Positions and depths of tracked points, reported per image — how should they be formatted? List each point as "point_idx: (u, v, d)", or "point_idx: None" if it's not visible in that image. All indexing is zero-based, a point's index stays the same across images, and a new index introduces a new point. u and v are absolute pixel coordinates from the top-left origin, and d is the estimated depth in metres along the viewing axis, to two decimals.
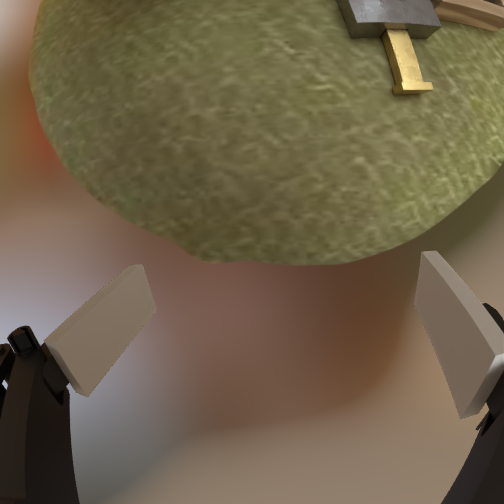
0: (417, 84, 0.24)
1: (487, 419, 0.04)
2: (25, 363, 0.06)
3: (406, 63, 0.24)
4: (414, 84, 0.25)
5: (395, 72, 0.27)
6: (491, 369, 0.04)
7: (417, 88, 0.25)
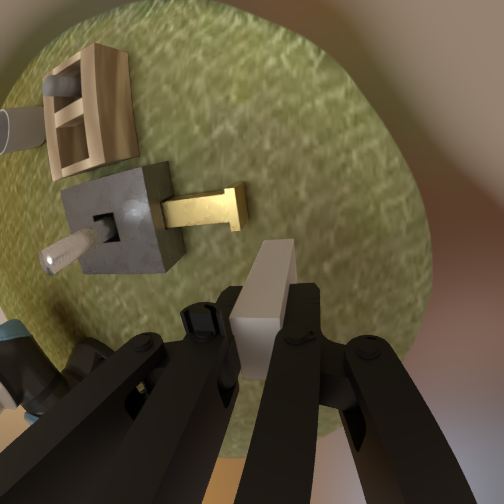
0: (230, 210, 0.28)
1: None
2: (197, 352, 0.07)
3: (205, 212, 0.30)
4: (231, 214, 0.28)
5: None
6: (257, 331, 0.08)
7: (236, 210, 0.28)
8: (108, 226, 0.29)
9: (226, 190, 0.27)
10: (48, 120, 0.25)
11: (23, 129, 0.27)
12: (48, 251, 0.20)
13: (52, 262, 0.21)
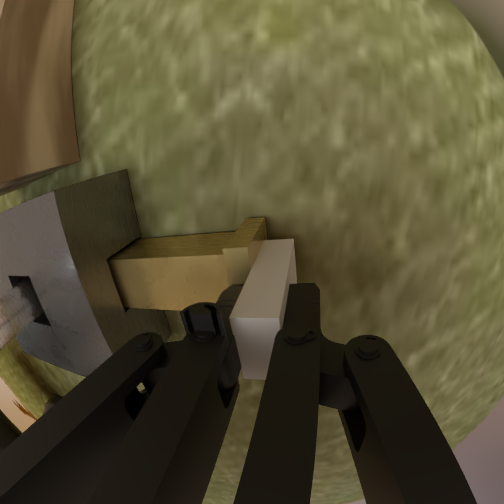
0: None
1: None
2: (198, 352, 0.07)
3: (183, 289, 0.13)
4: None
5: None
6: (257, 331, 0.08)
7: None
8: (26, 302, 0.12)
9: (228, 252, 0.11)
10: None
11: None
12: None
13: None
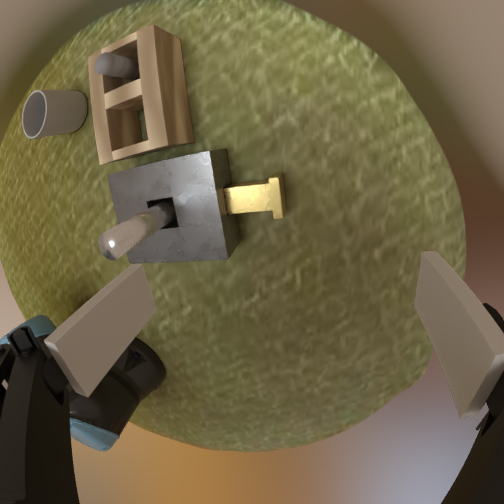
0: (274, 198, 0.29)
1: (487, 419, 0.04)
2: (25, 363, 0.06)
3: (247, 201, 0.31)
4: (274, 203, 0.29)
5: None
6: (491, 369, 0.04)
7: (279, 199, 0.29)
8: (167, 211, 0.30)
9: (270, 179, 0.28)
10: (96, 101, 0.26)
11: (60, 112, 0.28)
12: (112, 233, 0.21)
13: (117, 245, 0.22)
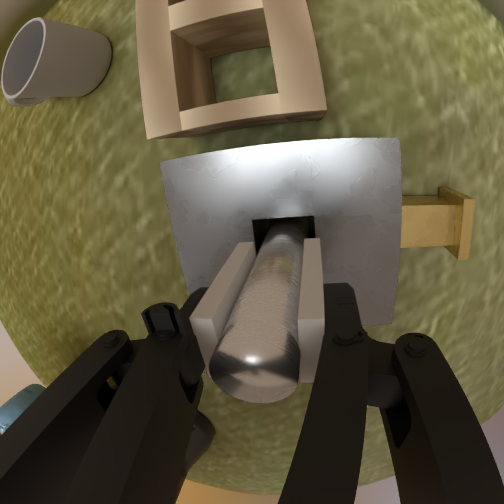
0: (465, 230, 0.15)
1: None
2: (159, 350, 0.07)
3: (422, 230, 0.17)
4: (464, 236, 0.15)
5: None
6: (300, 332, 0.08)
7: (470, 231, 0.15)
8: None
9: (466, 201, 0.14)
10: (148, 19, 0.11)
11: (67, 53, 0.14)
12: (276, 347, 0.07)
13: (288, 378, 0.07)
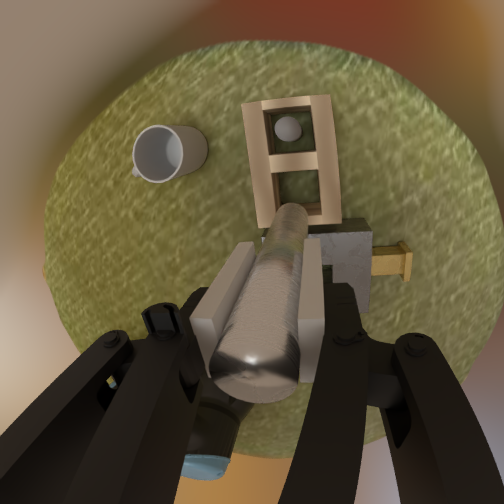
0: (407, 267, 0.34)
1: None
2: (159, 350, 0.07)
3: (384, 267, 0.36)
4: (406, 270, 0.34)
5: None
6: (300, 333, 0.08)
7: (410, 268, 0.34)
8: None
9: (407, 253, 0.34)
10: (257, 160, 0.31)
11: (190, 156, 0.33)
12: (276, 347, 0.07)
13: (288, 378, 0.07)
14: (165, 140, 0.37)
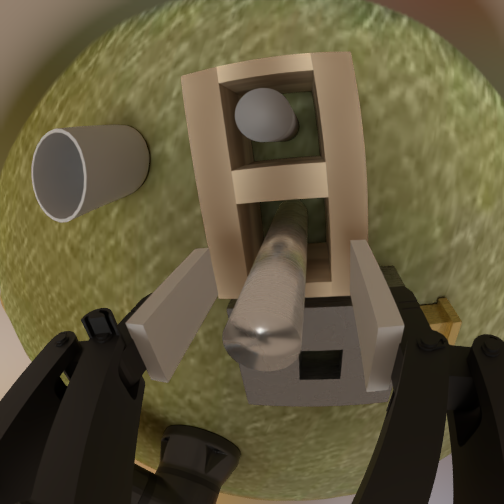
0: (450, 341, 0.20)
1: (391, 400, 0.06)
2: (99, 350, 0.07)
3: None
4: None
5: None
6: (379, 341, 0.07)
7: (454, 341, 0.20)
8: (306, 236, 0.17)
9: (454, 324, 0.19)
10: (210, 181, 0.16)
11: (110, 174, 0.19)
12: (282, 316, 0.08)
13: (293, 344, 0.09)
14: None
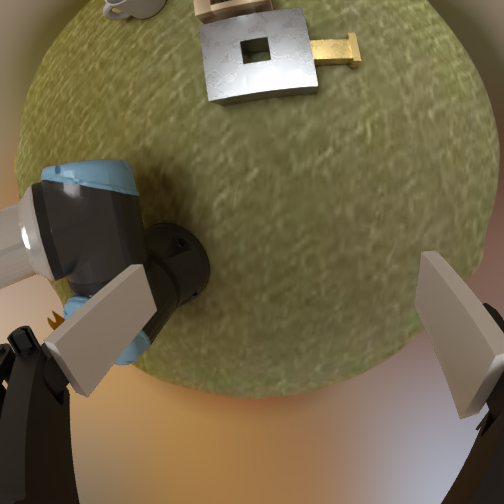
0: (353, 46, 0.27)
1: (487, 419, 0.04)
2: (25, 363, 0.06)
3: (329, 50, 0.28)
4: (353, 49, 0.27)
5: (335, 62, 0.31)
6: (491, 369, 0.04)
7: (357, 47, 0.27)
8: None
9: (349, 33, 0.26)
10: None
11: None
12: None
13: None
14: None
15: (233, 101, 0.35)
